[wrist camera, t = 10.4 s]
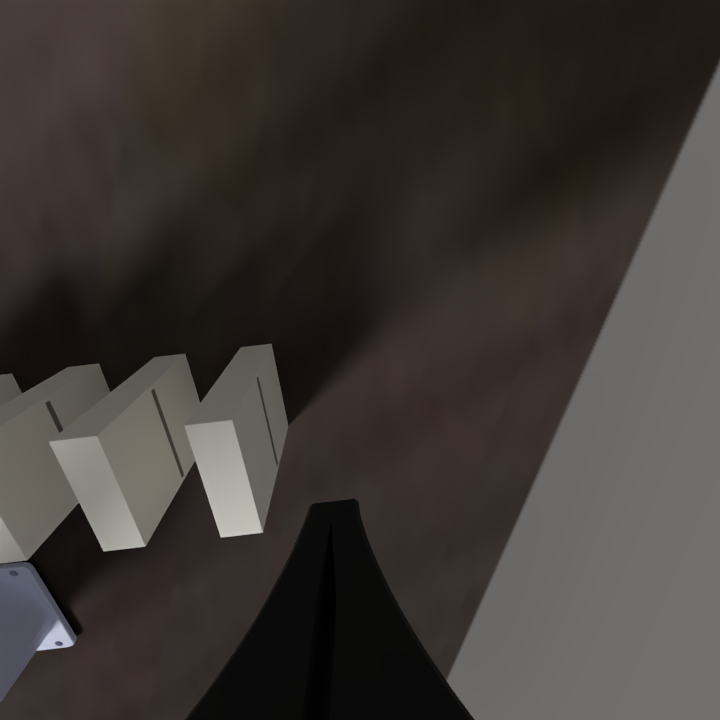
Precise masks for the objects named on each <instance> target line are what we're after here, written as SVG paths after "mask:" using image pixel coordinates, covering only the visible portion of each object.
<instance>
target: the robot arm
mask: <svg viewBox="0 0 720 720" xmlns="http://www.w3.org/2000/svg"><path fill="white" fill-rule="evenodd" d="M76 639H77V637H76V635H75V633H74V632H73V630H72V628H71V627H70V625H69V623H68V622H67V620H66V619H65V617H64V615H63V614H62V612H61V610H60V609H59V607H58V605H57V604H56V602H55V601H54V599H53V597H52V596H51V594H50V592H49V591H48V589H47V587H46V586H45V584H44V583H43V581H42V579H41V578H40V576H39V574H38V573H37V571H36V569H35V568H34V566H33V565H32V564H30V563H28V562H19V563H11V564H2V565H0V703H1V701H2V700H3V699H4V697H5V696H6V694H7V693H8V691H9V690H10V688H11V687H12V685H13V684H14V683H15V681H16V680H17V678H18V677H19V675H20V674H21V672H22V671H23V670H24V668H25V667H26V665H27V664H28V662H29V661H30V659H31V658H32V656H33V655H34V654H35V652H36V651H38V650H46V649H54V648H63V647H70V646H72V645H74V643H75V641H76ZM185 720H474V719H473V717H472V716H471V715H470V713H469V712H468V710H467V709H466V708H465V706H464V705H463V704H462V702H461V701H460V700H459V699H458V697H457V696H456V694H455V693H454V692H453V691H452V689H451V687H450V686H449V684H448V683H447V681H446V680H445V678H444V677H443V675H442V674H441V672H440V671H439V670H438V668H437V667H436V665H435V664H434V662H433V661H432V659H431V658H430V656H429V655H428V653H427V652H426V650H425V649H424V647H423V646H422V644H421V642H420V641H419V639H418V638H417V636H416V634H415V633H414V631H413V629H412V628H411V626H410V624H409V623H408V621H407V619H406V617H405V616H404V614H403V612H402V611H401V609H400V607H399V605H398V603H397V601H396V600H395V598H394V596H393V594H392V592H391V590H390V588H389V586H388V584H387V582H386V580H385V578H384V576H383V574H382V572H381V570H380V567H379V565H378V563H377V561H376V558H375V556H374V553H373V551H372V549H371V546H370V544H369V541H368V538H367V536H366V533H365V530H364V527H363V523H362V520H361V516H360V509H359V502H358V501H357V500H355V499H349V500H341V501H332V502H323V503H315V504H312V505H311V506H310V507H309V510H308V513H307V516H306V518H305V521H304V524H303V526H302V529H301V531H300V534H299V536H298V538H297V541H296V543H295V545H294V547H293V549H292V552H291V554H290V556H289V558H288V560H287V562H286V564H285V566H284V568H283V570H282V572H281V574H280V576H279V578H278V580H277V582H276V584H275V585H274V587H273V589H272V591H271V593H270V595H269V597H268V598H267V600H266V602H265V604H264V606H263V607H262V609H261V611H260V612H259V614H258V616H257V618H256V619H255V621H254V622H253V624H252V626H251V627H250V629H249V631H248V632H247V634H246V635H245V637H244V638H243V640H242V642H241V643H240V645H239V646H238V648H237V649H236V651H235V652H234V653H233V655H232V656H231V658H230V659H229V661H228V662H227V664H226V665H225V667H224V668H223V669H222V671H221V672H220V674H219V675H218V677H217V678H216V679H215V681H214V682H213V684H212V685H211V686H210V688H209V689H208V690H207V692H206V693H205V695H204V696H203V697H202V698H201V700H200V701H199V702H198V704H197V705H196V706H195V707H194V709H193V710H192V711H191V713H190V714H189V715H188V716H187V718H186V719H185Z"/></svg>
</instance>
